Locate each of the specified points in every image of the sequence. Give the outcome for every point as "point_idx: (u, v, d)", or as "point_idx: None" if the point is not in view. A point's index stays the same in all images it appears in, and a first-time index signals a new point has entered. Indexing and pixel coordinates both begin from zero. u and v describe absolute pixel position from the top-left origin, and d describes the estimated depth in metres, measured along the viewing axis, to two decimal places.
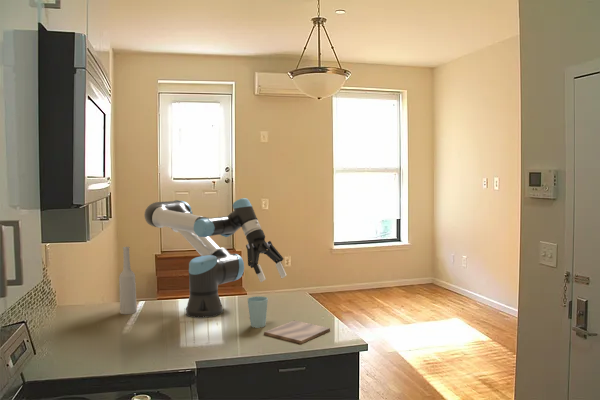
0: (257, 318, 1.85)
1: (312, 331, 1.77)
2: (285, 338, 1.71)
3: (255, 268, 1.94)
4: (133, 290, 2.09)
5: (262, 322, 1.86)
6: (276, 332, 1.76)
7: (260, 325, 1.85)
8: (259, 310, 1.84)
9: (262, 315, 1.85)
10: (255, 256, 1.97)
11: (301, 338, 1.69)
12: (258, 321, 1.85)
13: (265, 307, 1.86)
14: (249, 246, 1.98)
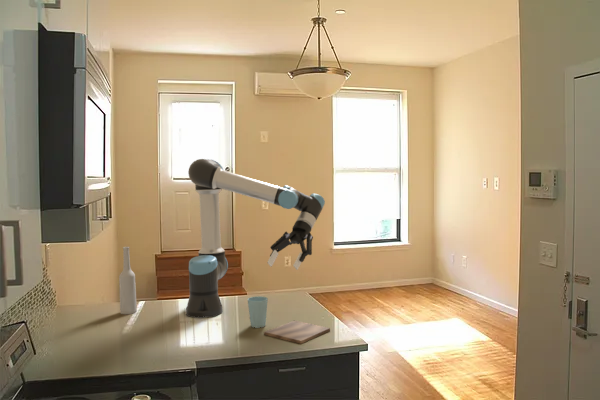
0: (257, 318, 1.85)
1: (312, 331, 1.77)
2: (285, 338, 1.71)
3: (304, 256, 1.95)
4: (133, 290, 2.09)
5: (262, 322, 1.86)
6: (276, 332, 1.76)
7: (260, 325, 1.85)
8: (259, 310, 1.84)
9: (262, 315, 1.85)
10: (304, 247, 2.00)
11: (301, 338, 1.69)
12: (258, 321, 1.85)
13: (265, 307, 1.86)
14: (311, 238, 2.02)
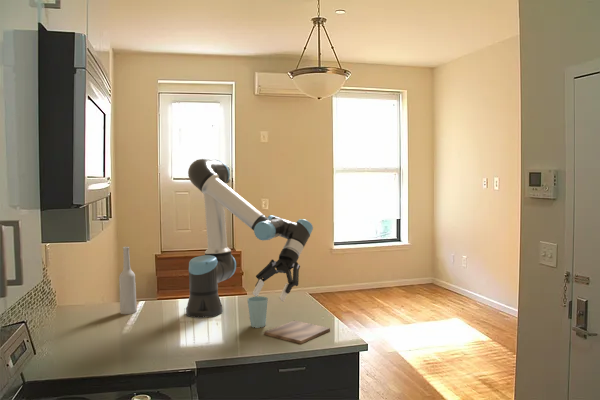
0: (257, 318, 1.85)
1: (312, 331, 1.77)
2: (285, 338, 1.71)
3: (290, 288, 1.87)
4: (133, 290, 2.09)
5: (262, 322, 1.86)
6: (276, 332, 1.76)
7: (260, 325, 1.85)
8: (259, 310, 1.84)
9: (262, 315, 1.85)
10: (291, 277, 1.92)
11: (301, 338, 1.69)
12: (258, 321, 1.85)
13: (265, 307, 1.86)
14: (298, 267, 1.93)
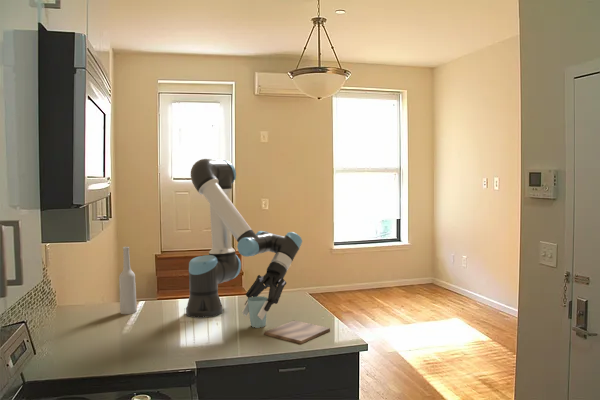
0: (257, 318, 1.85)
1: (312, 331, 1.77)
2: (285, 338, 1.71)
3: (269, 305, 1.84)
4: (133, 290, 2.09)
5: (262, 322, 1.86)
6: (276, 332, 1.76)
7: (260, 325, 1.85)
8: (259, 310, 1.84)
9: None
10: (273, 294, 1.88)
11: (301, 338, 1.69)
12: (258, 321, 1.85)
13: None
14: (283, 284, 1.89)
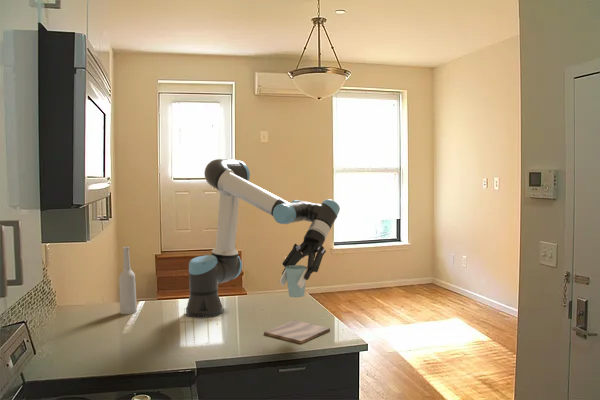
0: (296, 286, 1.75)
1: (312, 331, 1.77)
2: (285, 338, 1.71)
3: (309, 274, 1.74)
4: (133, 290, 2.09)
5: (301, 291, 1.76)
6: (276, 332, 1.76)
7: (299, 294, 1.75)
8: (298, 278, 1.74)
9: None
10: (313, 262, 1.78)
11: (301, 338, 1.69)
12: (297, 290, 1.75)
13: None
14: (323, 252, 1.79)
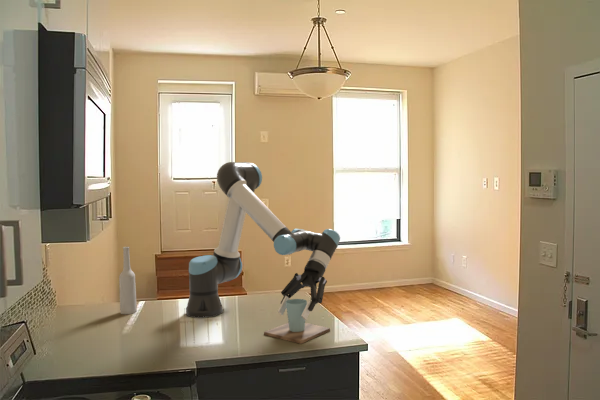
0: (296, 321, 1.75)
1: (312, 331, 1.77)
2: (285, 338, 1.71)
3: (313, 305, 1.74)
4: (133, 290, 2.09)
5: (301, 326, 1.76)
6: (276, 332, 1.76)
7: (299, 329, 1.76)
8: (299, 313, 1.75)
9: (302, 319, 1.76)
10: (315, 293, 1.79)
11: (301, 338, 1.69)
12: (297, 325, 1.76)
13: None
14: (324, 283, 1.80)
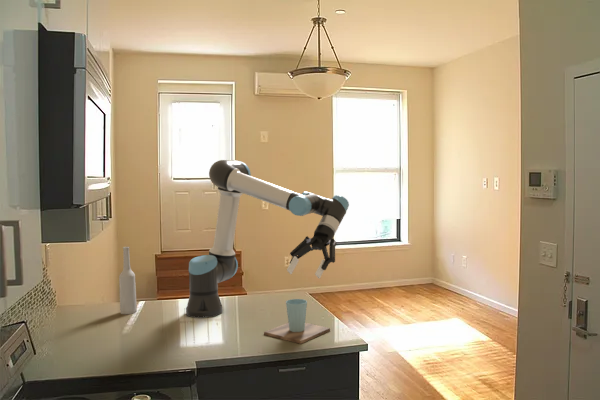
0: (296, 321, 1.75)
1: (312, 331, 1.77)
2: (285, 338, 1.71)
3: (327, 264, 1.80)
4: (133, 290, 2.09)
5: (302, 326, 1.76)
6: (276, 332, 1.76)
7: (299, 329, 1.76)
8: (299, 313, 1.75)
9: (302, 319, 1.76)
10: (327, 253, 1.84)
11: (301, 338, 1.69)
12: (297, 325, 1.76)
13: (305, 310, 1.77)
14: (334, 244, 1.86)
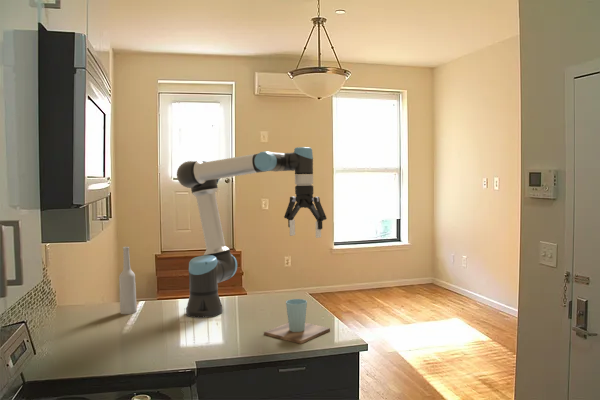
0: (296, 321, 1.75)
1: (312, 331, 1.77)
2: (285, 338, 1.71)
3: (321, 224, 1.98)
4: (133, 290, 2.09)
5: (302, 326, 1.76)
6: (276, 332, 1.76)
7: (299, 329, 1.76)
8: (299, 313, 1.75)
9: (302, 319, 1.76)
10: (316, 211, 2.00)
11: (301, 338, 1.69)
12: (297, 325, 1.76)
13: (305, 310, 1.77)
14: (318, 200, 1.99)
